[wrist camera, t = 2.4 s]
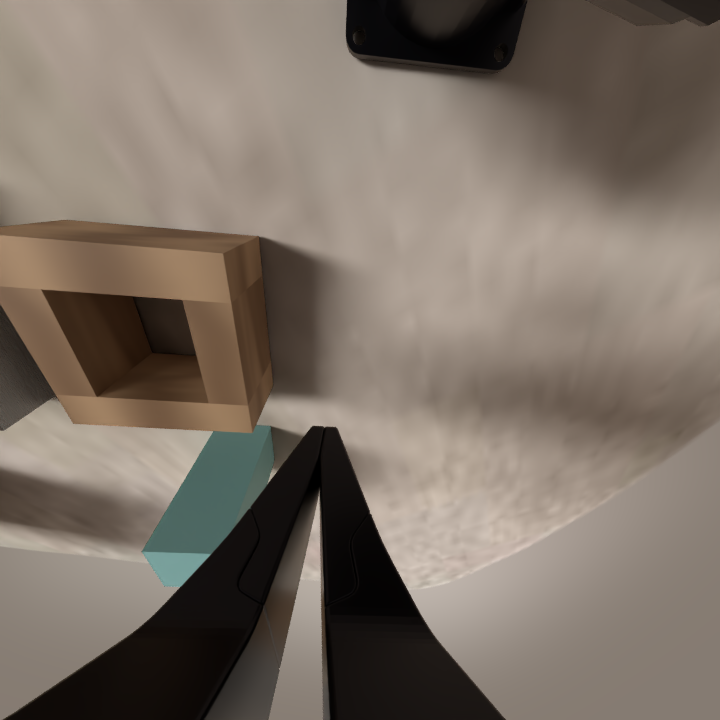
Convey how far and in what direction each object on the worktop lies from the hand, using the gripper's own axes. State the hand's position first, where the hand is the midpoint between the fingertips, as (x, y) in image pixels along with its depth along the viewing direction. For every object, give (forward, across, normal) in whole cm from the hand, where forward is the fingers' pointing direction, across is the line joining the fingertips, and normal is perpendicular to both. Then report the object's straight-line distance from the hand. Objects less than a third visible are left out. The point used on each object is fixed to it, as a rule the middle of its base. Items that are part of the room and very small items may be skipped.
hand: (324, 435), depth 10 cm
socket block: (+9, +9, 0) cm, 13 cm away
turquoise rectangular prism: (+9, +7, +11) cm, 16 cm away
